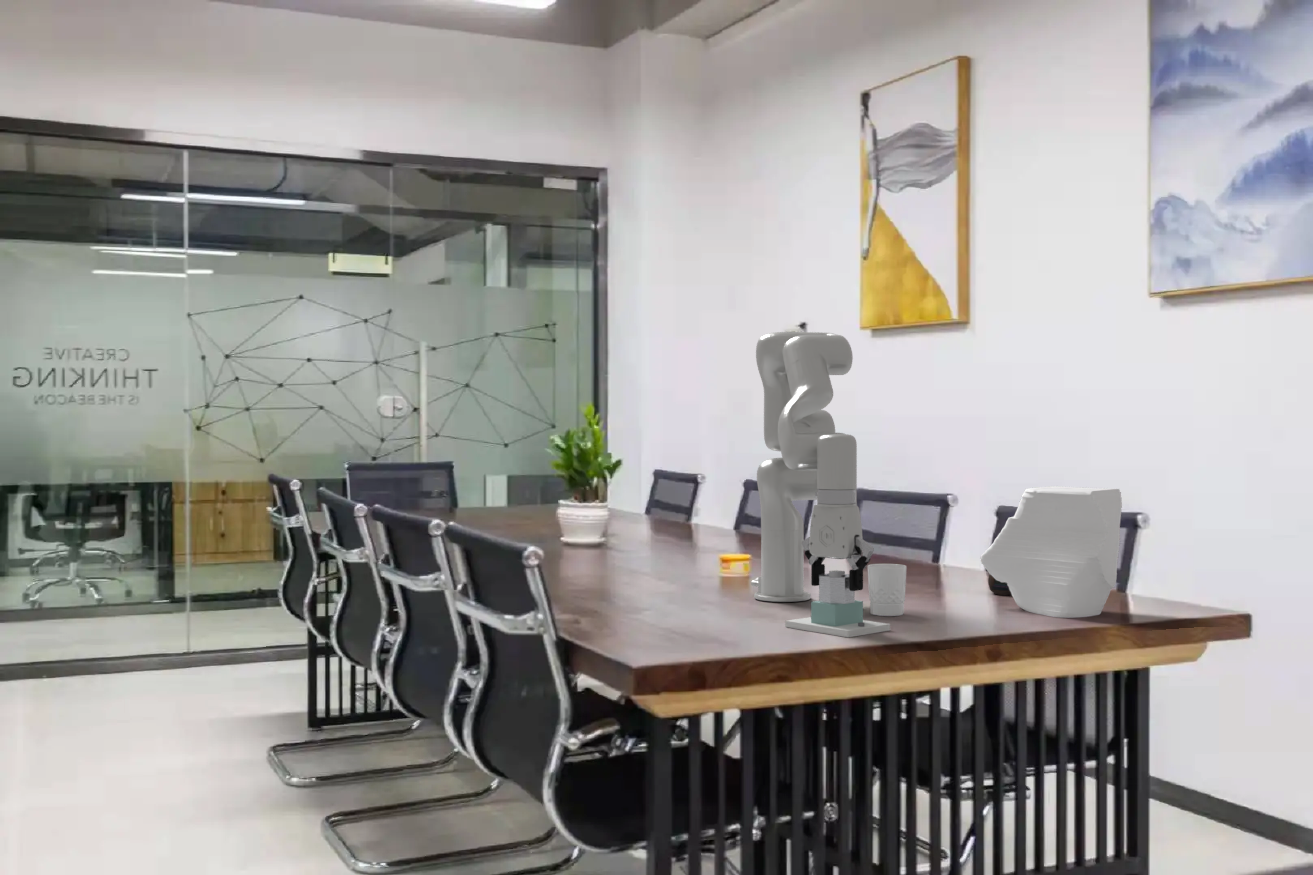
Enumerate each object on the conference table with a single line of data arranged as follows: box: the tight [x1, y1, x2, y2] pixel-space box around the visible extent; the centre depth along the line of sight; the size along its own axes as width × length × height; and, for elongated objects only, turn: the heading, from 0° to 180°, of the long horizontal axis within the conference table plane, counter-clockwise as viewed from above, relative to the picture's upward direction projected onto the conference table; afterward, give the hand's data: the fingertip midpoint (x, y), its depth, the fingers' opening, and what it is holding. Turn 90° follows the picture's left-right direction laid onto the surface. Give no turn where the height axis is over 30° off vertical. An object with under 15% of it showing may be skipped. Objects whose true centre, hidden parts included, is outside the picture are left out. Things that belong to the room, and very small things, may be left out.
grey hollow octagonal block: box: [818, 572, 856, 604], centre depth 245 cm, size 7×7×5 cm
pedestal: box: [784, 569, 891, 638], centre depth 245 cm, size 16×12×11 cm
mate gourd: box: [987, 573, 1012, 596], centre depth 293 cm, size 7×8×10 cm
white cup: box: [867, 563, 907, 617], centre depth 263 cm, size 8×8×10 cm
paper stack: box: [979, 485, 1123, 619], centre depth 269 cm, size 21×27×26 cm
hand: (836, 587), depth 245 cm, fingers open, 9 cm apart
